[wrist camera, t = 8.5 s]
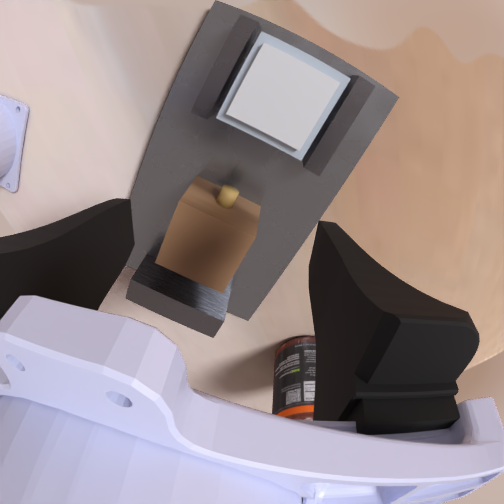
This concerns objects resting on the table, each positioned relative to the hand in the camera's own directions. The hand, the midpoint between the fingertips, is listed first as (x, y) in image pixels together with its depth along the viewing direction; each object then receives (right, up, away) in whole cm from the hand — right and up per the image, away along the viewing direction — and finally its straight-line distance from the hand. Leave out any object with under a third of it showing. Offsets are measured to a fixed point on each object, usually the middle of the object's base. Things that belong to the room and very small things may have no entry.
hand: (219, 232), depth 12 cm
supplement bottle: (+6, -10, +17) cm, 21 cm away
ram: (+3, +8, +5) cm, 10 cm away
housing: (-1, +1, +9) cm, 10 cm away
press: (0, +4, +9) cm, 10 cm away
